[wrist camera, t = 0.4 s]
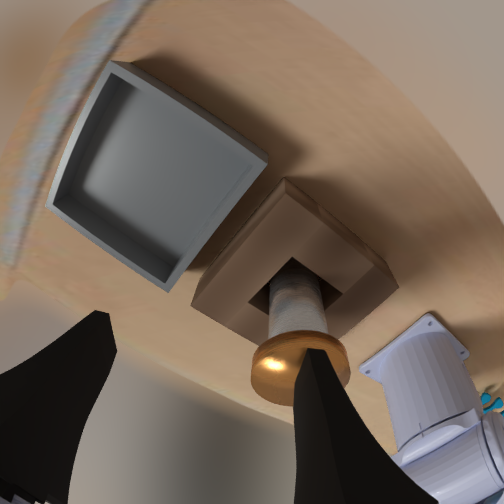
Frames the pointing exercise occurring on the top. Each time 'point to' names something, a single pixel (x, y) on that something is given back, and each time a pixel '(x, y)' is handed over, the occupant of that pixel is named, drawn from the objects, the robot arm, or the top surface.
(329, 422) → the robot arm
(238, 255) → the holder block
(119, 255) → the tray
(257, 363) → the pin
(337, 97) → the top surface
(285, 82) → the top surface
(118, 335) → the top surface
